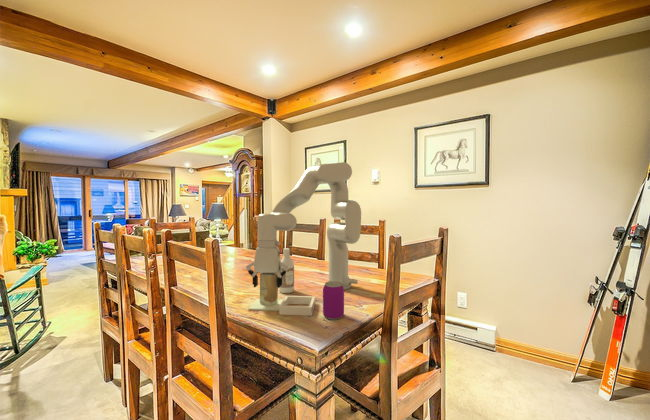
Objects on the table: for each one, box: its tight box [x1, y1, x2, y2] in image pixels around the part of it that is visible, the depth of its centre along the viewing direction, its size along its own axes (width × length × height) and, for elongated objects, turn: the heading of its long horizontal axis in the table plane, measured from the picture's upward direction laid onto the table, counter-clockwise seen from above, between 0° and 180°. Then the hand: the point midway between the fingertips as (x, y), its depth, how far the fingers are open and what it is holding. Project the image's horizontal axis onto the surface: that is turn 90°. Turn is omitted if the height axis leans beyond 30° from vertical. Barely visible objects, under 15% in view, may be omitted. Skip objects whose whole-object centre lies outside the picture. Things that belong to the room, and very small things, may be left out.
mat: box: [248, 298, 284, 312], centre depth 112 cm, size 12×11×1 cm
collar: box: [278, 295, 316, 316], centre depth 108 cm, size 12×12×3 cm
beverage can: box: [322, 280, 345, 321], centre depth 101 cm, size 8×8×12 cm
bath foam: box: [278, 247, 295, 294], centre depth 129 cm, size 7×7×20 cm
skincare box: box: [259, 273, 279, 306], centre depth 112 cm, size 6×4×12 cm
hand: (267, 286), depth 112 cm, fingers open, 9 cm apart
